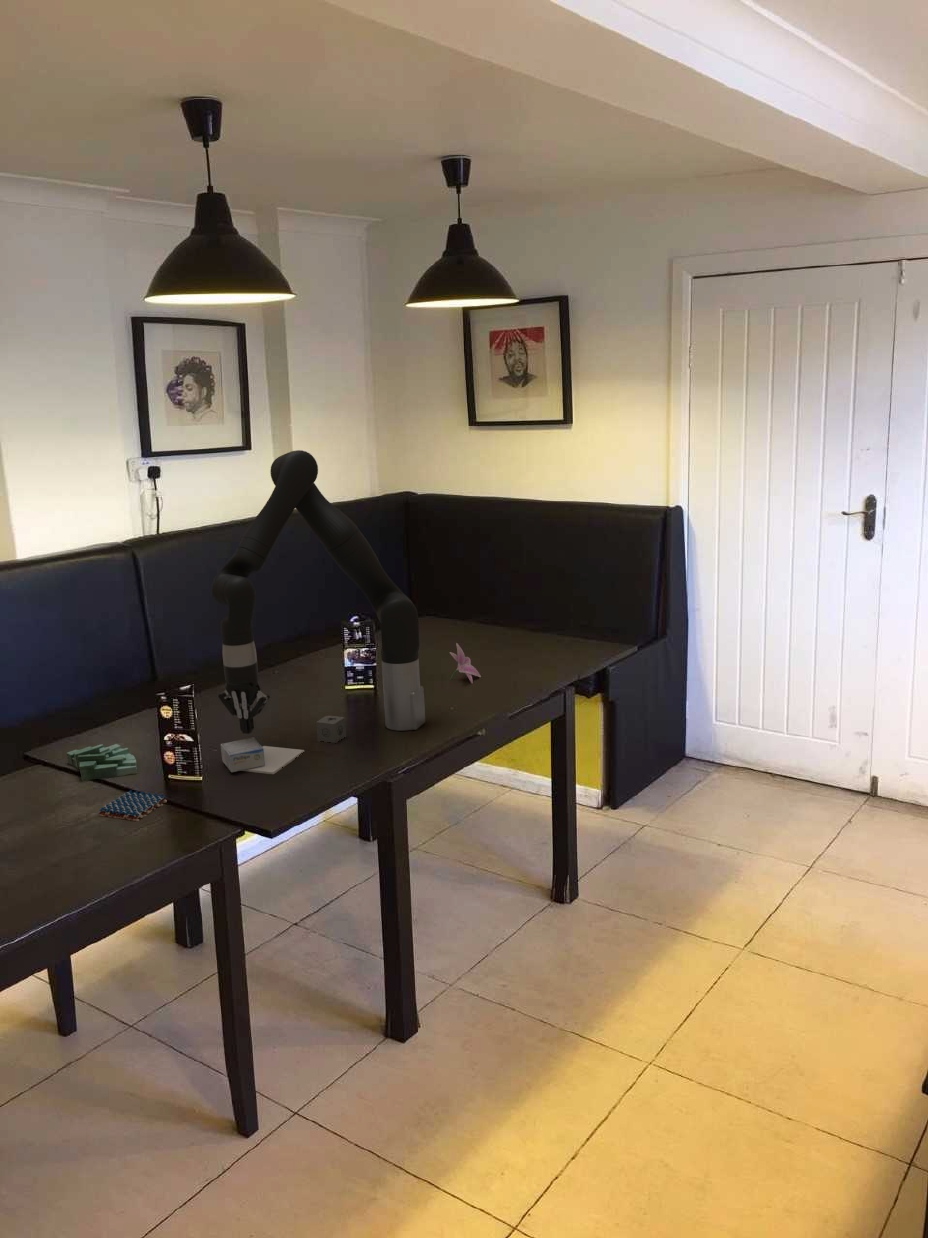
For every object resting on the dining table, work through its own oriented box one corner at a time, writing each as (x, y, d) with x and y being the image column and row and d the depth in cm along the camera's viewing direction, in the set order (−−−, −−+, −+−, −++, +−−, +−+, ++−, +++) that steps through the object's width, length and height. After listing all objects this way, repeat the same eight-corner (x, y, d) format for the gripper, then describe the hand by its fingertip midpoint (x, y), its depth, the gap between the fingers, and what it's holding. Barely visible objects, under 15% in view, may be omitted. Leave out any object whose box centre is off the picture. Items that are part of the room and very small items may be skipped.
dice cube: (346, 736, 254) (344, 717, 252) (335, 743, 249) (334, 724, 248) (328, 734, 256) (327, 715, 254) (317, 741, 251) (316, 722, 250)
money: (52, 770, 241) (49, 751, 240) (114, 749, 253) (111, 730, 252) (98, 790, 229) (96, 769, 228) (161, 766, 241) (159, 746, 240)
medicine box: (221, 761, 240) (231, 773, 232) (219, 743, 239) (229, 755, 231) (255, 754, 243) (265, 766, 235) (253, 736, 242) (263, 748, 234)
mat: (304, 752, 244) (304, 750, 244) (273, 774, 232) (273, 772, 232) (264, 747, 248) (263, 745, 248) (231, 769, 236) (231, 767, 236)
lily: (453, 693, 287) (469, 663, 284) (427, 669, 293) (442, 641, 291) (480, 694, 296) (495, 666, 293) (454, 672, 303) (469, 644, 300)
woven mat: (96, 818, 214) (94, 809, 214) (129, 798, 224) (128, 789, 223) (137, 824, 210) (136, 815, 210) (169, 803, 220) (168, 794, 220)
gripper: (273, 658, 237) (280, 729, 241) (224, 654, 242) (232, 725, 246) (256, 667, 230) (263, 740, 235) (206, 664, 235) (214, 735, 239)
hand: (247, 732), depth 240 cm, fingers closed
